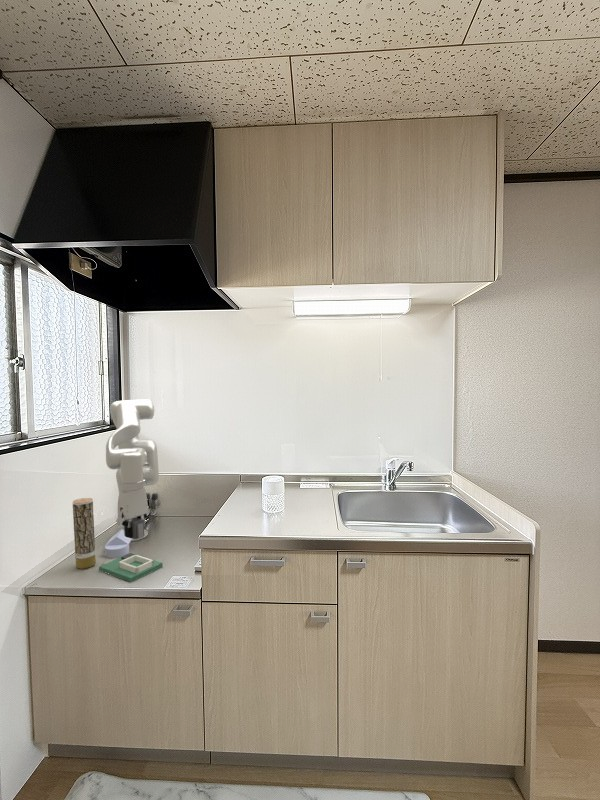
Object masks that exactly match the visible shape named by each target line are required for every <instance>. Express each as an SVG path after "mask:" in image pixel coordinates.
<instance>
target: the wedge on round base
mask: <svg viewBox="0 0 600 800" xmlns="http://www.w3.org/2000/svg"><path fill="white" fill-rule="evenodd" d="M131 539H132V538H128V537H125V536H124V530H119V531H118V532H116V533H115V534H114V535H113V536H111V537H110V538H109V540H108V541H107V542H106V544H105V545H104V555H105V557H106V558H109V557H111V559H113V558H115V557H116V558H120V557H122V556H124V555H126V554H129V553H130V543H131V542H132V541H131ZM116 558H115V559H116Z"/></svg>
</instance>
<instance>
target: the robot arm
mask: <svg viewBox="0 0 600 800" xmlns="http://www.w3.org/2000/svg"><path fill="white" fill-rule="evenodd" d="M109 412H110V417H111V419H112V422H113V425H114V426H115V428H116V430H114V431H113V432H112V434H111V435H110V436H109V437H108V439H107V442H106V445H105V462H106V465H107V467H108V468H109V469H110V470H116V471H115V472H116V473H115V477H116V478H115V479H116V483H117V489H118V500H117V519H116V523H118V524H119V525H117V526H116V530H119V531H120V530H124V527H125V535H126V537H128V538H133V533H132V527H131V521H132V518H139V519H143V520H144V523H145V521H146V518H147V516H148V515H149V514H150V513H151V509H150V508H149V504H148V497H147V492H146V488H145V487H148V486H154V485H156V484H158V482H159V480H160V479H159V478H160V477H159V476H160V474H159V473H160V472H159V459H158V447H157V444H156V442H155V441H154V440H153V439H148V438H147V439H146V438H145V439H139V438H140V437H139V434H140V433H141V423H140V421H141V420H152V419H153V418H154V416H155V415H154V414H155V406H154V403H153V401H152V400H151V399H146V398H145V399H124V400H117V401H113V402H112V403H111V404H110V406H109ZM117 446H118V448H117ZM127 520H128V523H127ZM148 534H149V533H148V530H146V529H144V537H143V538H140V539H138V538H137V539H131V541H130V542H136V541H140V540H142V539H144V538H146V537H147V536H148Z"/></svg>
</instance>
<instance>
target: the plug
mask: <svg viewBox="0 0 600 800" xmlns="http://www.w3.org/2000/svg"><path fill="white" fill-rule="evenodd" d="M127 523H128V520H127ZM131 527H132V533H133V538H132V539H137V538H138V539H140V538H143V537H144V530H145V522H144V520H143V519H139V518H132V521H131ZM124 536H125V537H126V535H125V527H124ZM143 539H144V538H143ZM140 540H141V539H140Z"/></svg>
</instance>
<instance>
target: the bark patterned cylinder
mask: <svg viewBox="0 0 600 800" xmlns="http://www.w3.org/2000/svg"><path fill="white" fill-rule="evenodd" d="M72 516H73V519H72V521H73V535H74V536H73V537H74V555H75V566H76V568H78V569H80V570H81V569H84V568H85V569H89V568H92V567H93V566H95V565H96V561H97V560H96V559H97V558H96V539H95V519H94V517H95V516H94V499H93V498H91V497H82V498H77V499H74V500H72Z"/></svg>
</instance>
